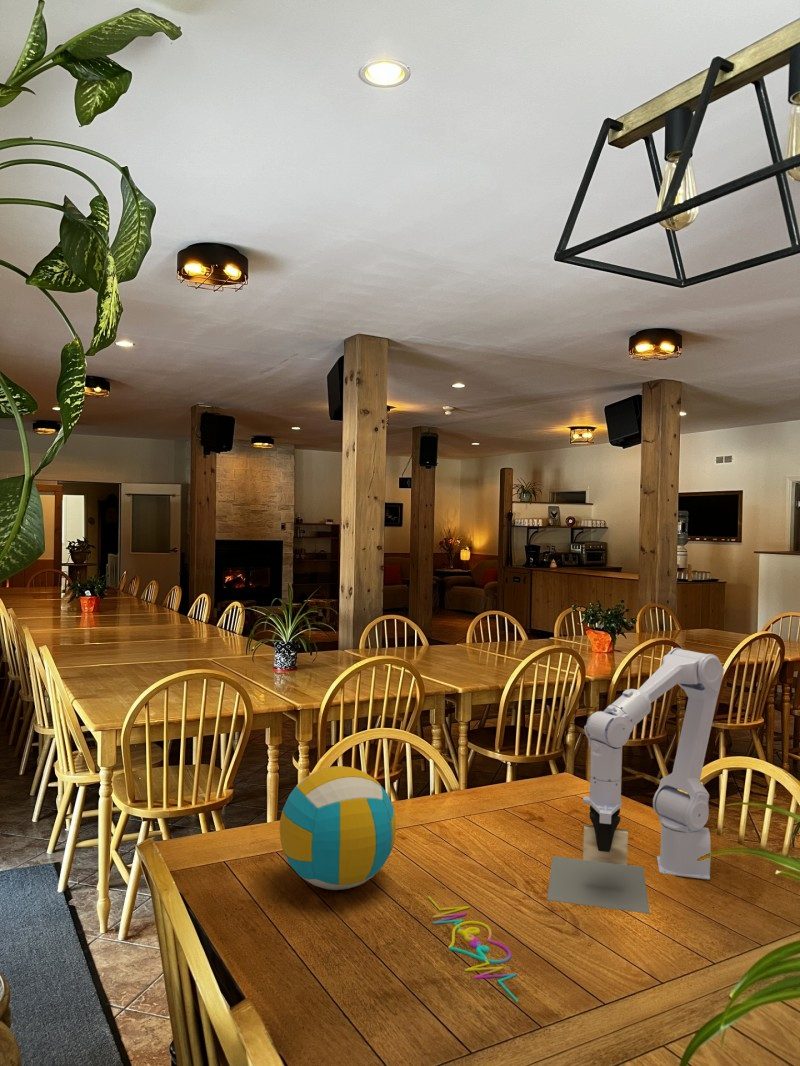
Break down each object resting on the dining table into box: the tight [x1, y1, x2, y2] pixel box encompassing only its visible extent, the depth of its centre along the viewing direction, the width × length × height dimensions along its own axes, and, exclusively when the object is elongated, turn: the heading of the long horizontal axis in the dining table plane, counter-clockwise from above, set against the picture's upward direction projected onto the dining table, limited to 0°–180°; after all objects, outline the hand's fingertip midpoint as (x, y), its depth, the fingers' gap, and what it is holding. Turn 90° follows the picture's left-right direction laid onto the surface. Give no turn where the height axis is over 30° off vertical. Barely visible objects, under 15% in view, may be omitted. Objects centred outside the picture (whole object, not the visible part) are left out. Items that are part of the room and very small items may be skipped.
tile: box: [582, 824, 629, 865], centre depth 152 cm, size 8×2×6 cm, turn 76°
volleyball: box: [279, 765, 397, 891], centre depth 152 cm, size 22×22×22 cm
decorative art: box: [427, 896, 520, 1003], centre depth 132 cm, size 34×1×10 cm
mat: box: [546, 855, 650, 915], centre depth 154 cm, size 18×20×1 cm
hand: (603, 848), depth 152 cm, fingers closed on tile, 2 cm apart
